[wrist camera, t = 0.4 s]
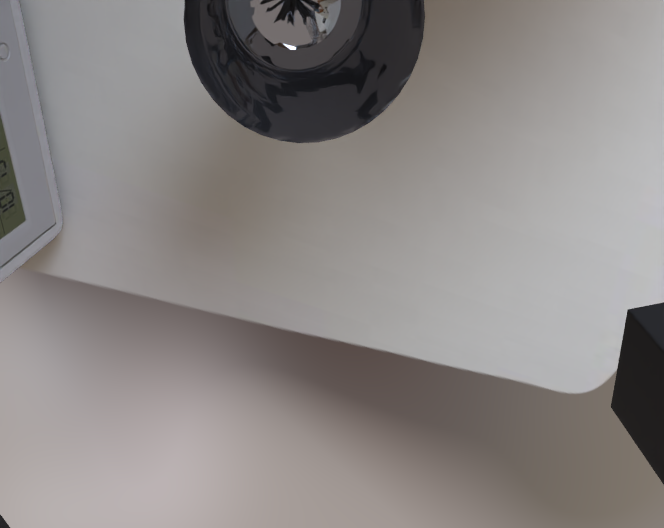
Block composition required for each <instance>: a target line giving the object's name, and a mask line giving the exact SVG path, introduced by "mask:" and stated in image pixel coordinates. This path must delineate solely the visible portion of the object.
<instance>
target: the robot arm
mask: <svg viewBox="0 0 664 528" xmlns="http://www.w3.org/2000/svg"><path fill="white" fill-rule="evenodd" d="M611 408H612V409H613V411H614V412H615V414H616V415H617V416H618V418H619V419H620V421H621V422H622V424H623V425H624V427H625V428H626V430H627V431H628V433H629V434H630V436H631V437H632V439H633V440H634V442H635V443H636V445H637V446H638V448H639V449H640V450H641V452H642V453H643V455H644V456H645V458H646V459H647V461H648V462H649V464H650V465H651V467H652V468H653V470H654V471H655V473H656V474H657V475H658V477H659V478H660V480H661V481H662V483H663V484H664V303H659V304H654V305H649V306H644V307H639V308H634V309H629V310H628V312H627V317H626V323H625V329H624V335H623V340H622V346H621V352H620V357H619V363H618V369H617V375H616V381H615V386H614V392H613V398H612V403H611ZM0 528H10V527H9V526H8V524H7V523H6V522H5V520H4V519H3V518H2V516H1V515H0Z"/></svg>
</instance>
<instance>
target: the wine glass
mask: <svg viewBox="0 0 664 528" xmlns="http://www.w3.org/2000/svg"><path fill="white" fill-rule="evenodd" d="M424 20H425V12H424V0H185V6H184V26H185V35H186V43H187V47H188V50H189V54H190V57H191V61H192V64H193V66H194V68H195V70H196V72H197V74H198V77H199V79H200V81H201V83H202V84H203V86H204V87H205V89H206V90H207V91H208V93H209V94H210V96H211V97H212V99H213V100H214V101H215V102H216V103H217V104H218V105H219V106H220V107H221V108H222V109H223V110H224V111H225V112H226V113H227V114H228V115H229V116H230V117H232V118H233V119H235V120H236V121H237V122H239V123H240V124H241V125H243V126H244V127H246V128H248V129H250V130H252V131H254V132H256V133H259V134H261V135H263V136H267V137H270V138H273V139H276V140H280V141H288V142H295V143H309V142H321V141H326V140H331V139H335V138H338V137H341V136H344V135H346V134H349V133H351V132H354V131H356V130H357V129H359V128H361V127H362V126H364V125H366V124H368V123H369V122H371V121H372V120H373V119H374V118H376V117H377V116H378V115H379V114H381V113H382V112H383V111H384V110H385V109H386V108H387V107H388V106H389V105H390V104H391V103H392V102H393V100H394V99H395V98H396V97H397V96H398V95H399V93H400V92H401V90H402V88H403V87H404V85H405V84H406V82H407V81H408V79H409V77H410V75H411V73H412V71H413V68H414V66H415V64H416V61H417V59H418V55H419V51H420V47H421V44H422V40H423V31H424Z"/></svg>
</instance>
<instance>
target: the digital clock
mask: <svg viewBox="0 0 664 528" xmlns="http://www.w3.org/2000/svg"><path fill="white" fill-rule="evenodd" d="M62 226H63V217H62V210H61V205H60V199H59V194H58V189H57V184H56V179H55V174H54V169H53V164H52V159H51V154H50V149H49V144H48V140H47V135H46V130H45V125H44V120H43V115H42V110H41V105H40V100H39V95H38V90H37V85H36V80H35V75H34V70H33V65H32V61H31V56H30V51H29V46H28V41H27V36H26V31H25V26H24V21H23V17H22V12H21V7H20V3H19V0H0V283H1V282H2V281H3V280H4V279H6V278H7V277H8V276H9V275H11V274H12V273H13V272H14V271H15V270H17V269H18V268H19V267H20V266H21V265H23V264H24V263H25V262H26V261H27V260H29V259H30V258H31V257H32V256H34V255H35V254H36V253H37V252H38V251H40V250H41V249H42V248H43V247H44V246H46V245H47V244H48V243H49V242H50V241H52V240H53V239H54V238H55V237H56V236H57V235H58V234H59V232H60V231H61V229H62Z"/></svg>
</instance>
